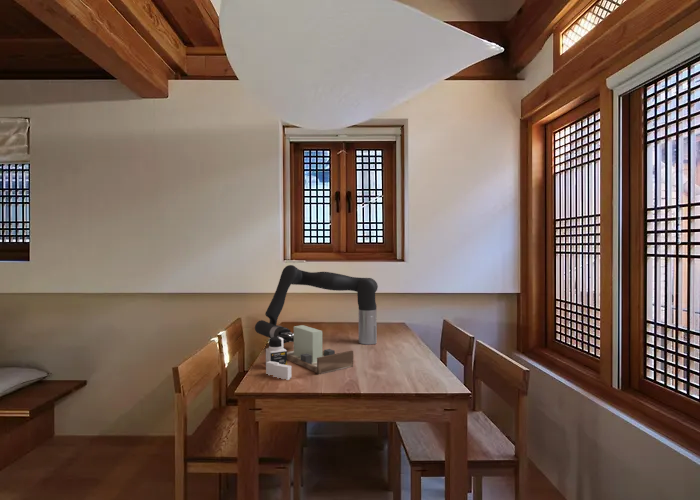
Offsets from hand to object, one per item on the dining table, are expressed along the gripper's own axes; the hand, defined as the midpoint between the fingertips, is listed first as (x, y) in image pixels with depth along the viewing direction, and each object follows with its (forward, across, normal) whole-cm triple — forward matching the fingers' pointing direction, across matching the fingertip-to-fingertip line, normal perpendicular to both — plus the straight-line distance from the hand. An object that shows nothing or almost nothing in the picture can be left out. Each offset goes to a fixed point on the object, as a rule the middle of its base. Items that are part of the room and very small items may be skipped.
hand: (298, 340), depth 195 cm
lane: (+12, 0, +7) cm, 14 cm away
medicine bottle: (+9, -16, +7) cm, 20 cm away
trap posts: (+16, 0, +6) cm, 17 cm away
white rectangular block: (+21, -22, +8) cm, 31 cm away
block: (+8, 0, +6) cm, 10 cm away
